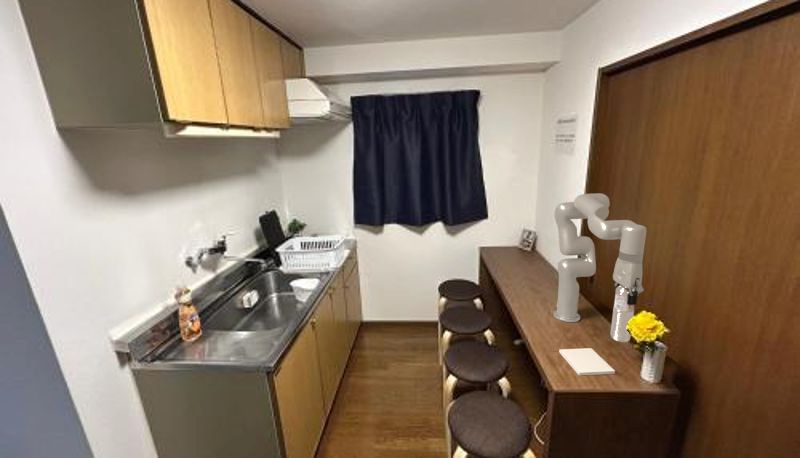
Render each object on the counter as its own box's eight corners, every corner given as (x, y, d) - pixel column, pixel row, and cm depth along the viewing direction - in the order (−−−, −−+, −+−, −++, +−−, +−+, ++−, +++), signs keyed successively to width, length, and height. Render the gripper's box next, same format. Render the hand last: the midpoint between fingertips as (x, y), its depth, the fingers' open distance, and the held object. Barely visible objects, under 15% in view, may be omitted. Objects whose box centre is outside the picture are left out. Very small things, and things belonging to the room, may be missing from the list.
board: (559, 352, 147) (559, 349, 147) (591, 350, 147) (591, 348, 147) (579, 375, 132) (579, 372, 131) (614, 373, 132) (615, 371, 132)
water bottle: (622, 333, 141) (630, 276, 135) (634, 342, 134) (642, 283, 128) (606, 334, 140) (613, 277, 135) (616, 343, 134) (624, 284, 128)
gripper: (606, 250, 138) (602, 291, 142) (636, 264, 121) (630, 310, 125) (625, 249, 138) (619, 290, 142) (657, 264, 121) (650, 310, 125)
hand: (624, 299), depth 133 cm, fingers closed on water bottle, 6 cm apart
